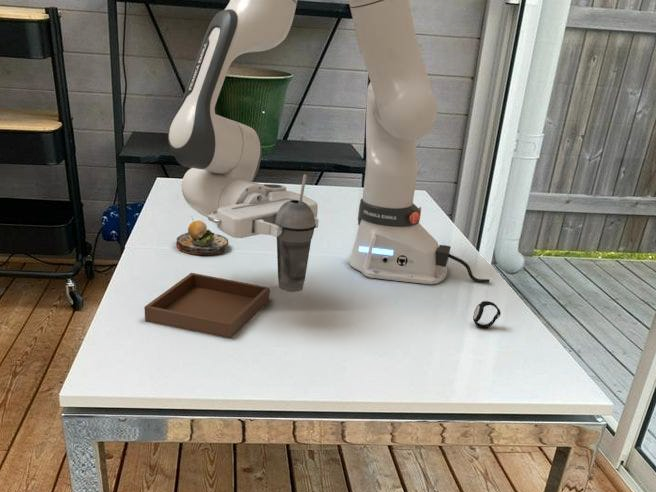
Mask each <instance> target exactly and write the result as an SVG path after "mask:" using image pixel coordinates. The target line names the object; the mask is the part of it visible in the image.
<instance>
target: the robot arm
mask: <svg viewBox="0 0 656 492" xmlns="http://www.w3.org/2000/svg"><path fill="white" fill-rule="evenodd" d="M297 4H298V0H229V2H228V4H227V5H226V7H225V8H224V9H223V10H220V11H219V12H217V13H216V14H215V15H214V16H213V18H212V19H211V21H210V24H209V25H208V28H207V30H206V33H205V35H204V37H203V40H202V43H201V45H200V48H199V51H198V54H197V57H196V59H195V62H194V65H193V68H192V71H191V74H190V77H189V80H188V83H187V86H186V88H185V91H184V94H183V97H182V99H181V102H180V104H179V106H178V107H177V109H176V111H175V113H174V114H173V117H172V118H171V121H170V123H169V126H168V130H167V141H168V145H169V149H170V151H171V153H172V155H173V157H174V158H175V160H176V161H177V163H178V164H179V165H181V166H182V167H185V168H189V169H188V170H187V171H186V172H185V174H184V175H183V176H182V180H181V193H182V196H183V198H184V200H185V202H186V203H187V205H188V206H189V207H190V208H191V209H192V210H194V211H195V212H197V213H198V214H200V215H202V216H203V217H206V218H207V220H208V221H209V222H212V223H214V224H216V227H217V229H218V230H219V231H221V232H222V233H224V234H225V235H228V236H229V237H231V238H235V239H244V238H249V237H252V236H253V237H254V236H257V235H267V236H271V237H273V238H277V237H278V236H282V235H283V226H282V225H279V224H277V223H275V220H276V215H277V213H278V210H279V209H280V207H281V206H282V205H283V204H284V203H286V202H288V201H291V200H299V198H300V193H297V192H295V191H291V190H287V186H285V185H282V184H276V183H275V184H274V183H273V184H272V183H271V184H267V183H264V184H263V183H258V182H254V180H255V178H256V176H257V174H258V172H259V170H260V165H261V161H262V155H263V154H262V153H263V150H262V149H263V148H262V141H261V139H260V136H259V134H258V132H257V131H256V130H255V129H254V128H253V127H252V126H249V125H247V124H244V123H242V122H239V121H236V120H233V119H230V118H227V117H224V116H221V115H219V114H217V113H216V104H217V101H218V98H219V96H220V93H221V90H222V87H223V85H224V81H225V80H226V76H227V74H228V71H229V68H230V66H231V64H232V63H233V61H234V60H235V59H236V58H238V57H239V56H241V55H243V54H247V53H259V52H265V51H268V50H272V49H273V48H276V47H277V46H278V45H280V44H281V43H282V42H284V40H285V39H286V38H287V36H288V34H289V32H290V30H291V27H292V24H293V21H294V18H295V14H296V9H297ZM348 4H349V5H348V6H349V9H350V14H351V18H352V22H353V27H354V32H355V36H356V40H357V44H358V49H359V52H360V55H361V58H362V60H363V63H364V66H365V69H366V72H367V75H368V79H369V81H370V82H369V84H368V86H367V88H366V91H365V105H366V108H365V109H366V113H365V114H366V115H365V148H366V149H365V150H366V151H365V153H366V154H365V155H366V156H365V157H366V159H365V170H364V180H363V181H364V182H363V188H362V189H363V191H362V198H360V200H359V205H358V213H357V226H358V227H357V232H356V237H355V241H354V245H353V247H352V251H351V254H350V256H349V258H348V264H349V266H351V267H352V268H353V269H355V270H357V271H359V272H360V273H362V274H363V275H364V276H365V277H367V278H370V279H379V280H388V281H398V282H406V283H415V284H423V285H437V284H439V283H441V282H443V281H444V280H445V279H446V277H447V275H448V266H447V264H448V262H449V259H450V260H453V261H455V262H457V263H459V264H461V265H462V266H463V267H464V268H465V269H466V271H467V274H468V277H469V278H470V279H471V280H472V281H473V282H476V283H478V284H479V283H481V284H490V280H491V279H488V278H477V277H476V276H474V275H473V272H472V269H471V267H470V265H469V264H468V263H467V262H466V261H464V260H463V259H461V258H460V257H457V256H456V255H454V254H451V253H450V252H451V249H452V248H451V247H452V246H451V245H444V244H439V243H438V241H437V240H436V239H435V238H434V237H433V235H431V233H429V232H428V230H426V229H425V227H424V226H423V225H422V224H421V223H420V221H421V213H422V207H421V206H419V207H418V206H417V205H416V204H415V203H414V197H415V191H416V185H417V176H418V171H419V163H418V157H417V156H418V155H417V140H419V139H421V138H423V137H425V136H426V135H428V134H429V132H430V131H431V130H432V129H433V127H434V126H435V123H436V120H437V117H438V106H437V102H436V99H435V96H434V93H433V90H432V86H431V83H430V78H429V75H428V71H427V68H426V64H425V61H424V58H423V55H422V51H421V48H420V45H419V42H418V38H417V34H416V30H415V25H414V19H413V14H412V9H411V3H410V0H348ZM302 202H304V203H306V204H307V205H308V206H309V207H310V208H311V210H312V212H313V214H314V218H315V228H314V229H317V228H318V227H319V221H320V220H319V218H318V210H319V209H318V208H319V207H318V203H317V201H316V200H314V199H312V198H310V197H307V196H306V195H303V198H302ZM274 223H275V224H274Z"/></svg>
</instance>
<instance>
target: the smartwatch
mask: <svg viewBox="0 0 656 492" xmlns="http://www.w3.org/2000/svg"><path fill="white" fill-rule="evenodd" d="M487 306H491V307H494V308H495V309H496V313H495V315H494V316H493V317H492V319H491V320H490V321H489V322H488V323H486V324H481V323H479V321H480V320H481V318H482V316H483V314H484V310H485V307H487ZM501 313H502V312H501V309H500V308H499V307H498V306H497V304H495V303H494V302H492V301H489V300H483V301H481V302H480V303H479V304H477V305H476V306H475V310H474V312H473V316H472V320H473V323H474V324H475V326H476V327H478V328H480V329H483V330H484V329H485V330H486V329H489V328H490V327H492V326H493V325H494V324H495V323H496V321H497V320H498V319H499V317H501Z"/></svg>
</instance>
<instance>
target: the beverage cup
mask: <svg viewBox="0 0 656 492" xmlns="http://www.w3.org/2000/svg"><path fill="white" fill-rule="evenodd" d="M307 176H308V174H306V173H304V174H303V177H302V183H301V188H300V192H299V194H300V198H299V200H291V201H288V202H286V203H284V204H283V205H282V206H281V207H280V209H279V210H278V213H277V215H276V220H275V223H277V224H279V225H282V226H283V235H282V236H278V237H276V257H277V258H276V259H277V279H278V288H279V289H280V290H281V291H284V292H288V293H298V292H301V291H303V289H304V284H305V281H306V274H307V270H308V269H307V268H308V262H309V256H310V250H311V245H312V244H311V242H312V240H313V236H314V232H315V229H316V228H315V218H314V214H313V212H312V210H311V208H310V207H309V206H308V205H307V204H306V203H304V202H302V198H303V196H304V193H305V188H306V187H305V186H306V181H307ZM275 223H274V224H275Z"/></svg>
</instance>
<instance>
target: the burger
mask: <svg viewBox="0 0 656 492" xmlns="http://www.w3.org/2000/svg"><path fill="white" fill-rule="evenodd" d="M191 218H192V220H193V221H192V222H191V223H190V224H189V225H188V228H187V232H185V233H183V234H180V235H179V236H178V237H176V243H175V245H176V248H178V250H179V251H182V252H184V253H188V254H192V255H200V256H202V255H203V256H211V255H213V256H214V255H219V254H222V253H224V252H225V248H226V247H227V246H228V245H229V239H228V238H227V237H225V236H224V235H221V234H217V233H215V232H212V231H211V230H210V229H208V226H207V224H206V223H205V222H204V221H202V220H194V219H193V217H191Z"/></svg>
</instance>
